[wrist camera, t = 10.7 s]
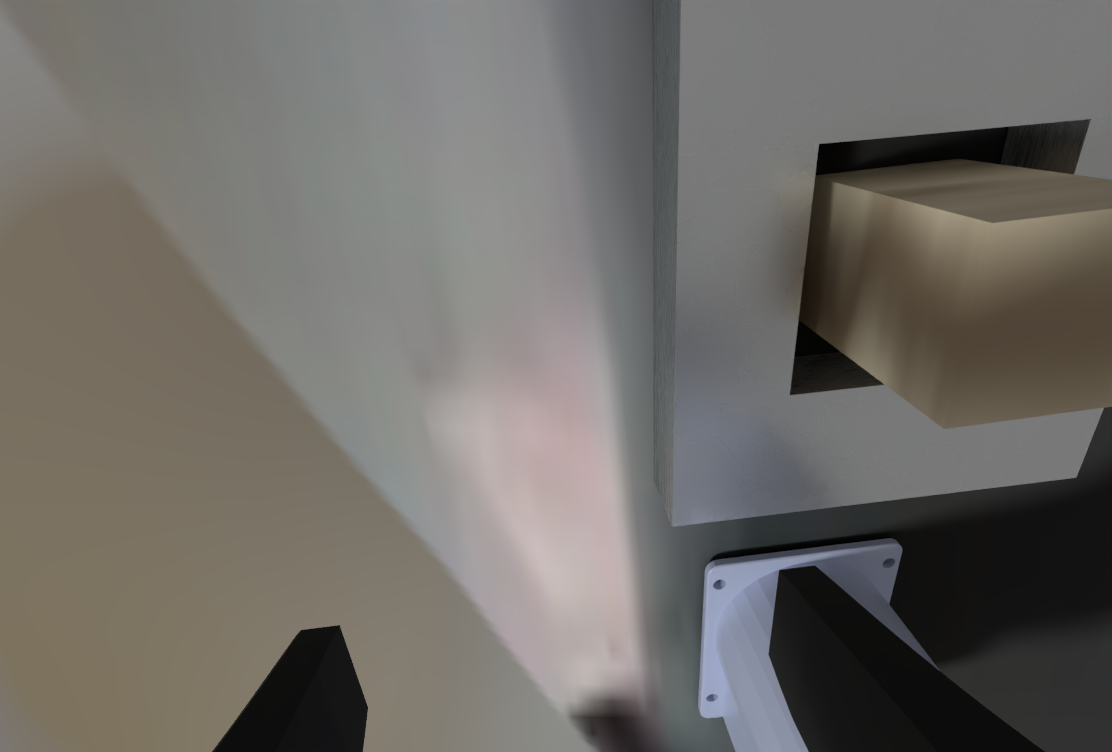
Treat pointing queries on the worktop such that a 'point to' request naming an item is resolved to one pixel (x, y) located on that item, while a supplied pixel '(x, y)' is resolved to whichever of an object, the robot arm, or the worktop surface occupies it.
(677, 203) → the socket plate
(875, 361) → the birch block
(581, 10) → the worktop surface
